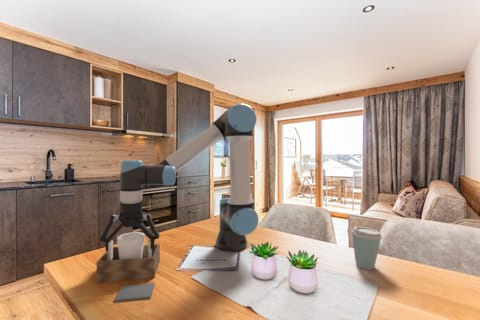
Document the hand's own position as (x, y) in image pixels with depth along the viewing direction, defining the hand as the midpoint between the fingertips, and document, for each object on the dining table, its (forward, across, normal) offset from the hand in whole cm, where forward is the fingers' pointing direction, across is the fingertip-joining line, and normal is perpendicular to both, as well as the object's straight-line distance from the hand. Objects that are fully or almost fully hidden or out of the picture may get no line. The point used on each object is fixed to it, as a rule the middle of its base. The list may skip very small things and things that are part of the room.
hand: (130, 258), depth 88 cm
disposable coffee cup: (+4, -90, +12) cm, 91 cm away
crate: (+5, 0, 0) cm, 5 cm away
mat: (+5, -5, +15) cm, 17 cm away
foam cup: (+5, 0, 0) cm, 5 cm away
